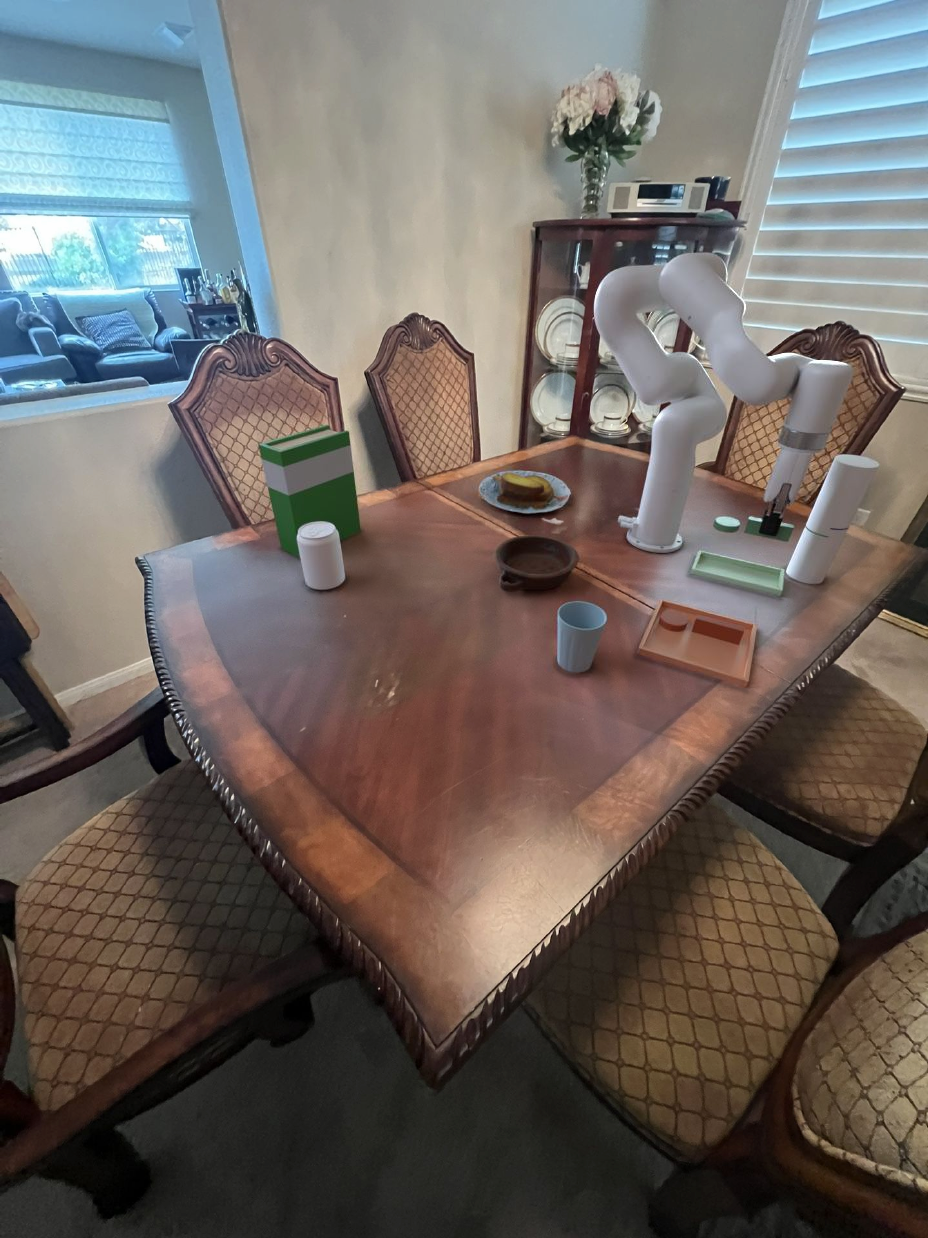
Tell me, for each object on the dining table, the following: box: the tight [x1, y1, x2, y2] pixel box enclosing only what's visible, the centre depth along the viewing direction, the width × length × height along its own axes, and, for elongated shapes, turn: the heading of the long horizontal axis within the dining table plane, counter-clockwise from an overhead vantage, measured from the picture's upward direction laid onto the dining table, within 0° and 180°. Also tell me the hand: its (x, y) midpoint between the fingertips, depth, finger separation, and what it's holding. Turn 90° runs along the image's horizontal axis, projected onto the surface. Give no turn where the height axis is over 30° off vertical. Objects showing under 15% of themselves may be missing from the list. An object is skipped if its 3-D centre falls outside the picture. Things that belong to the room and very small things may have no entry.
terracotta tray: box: [636, 597, 758, 688], centre depth 94 cm, size 17×17×2 cm
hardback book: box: [257, 424, 362, 560], centre depth 118 cm, size 18×7×24 cm, turn 141°
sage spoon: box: [712, 516, 795, 543], centre depth 105 cm, size 14×5×3 cm, turn 61°
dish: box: [494, 534, 580, 592], centre depth 111 cm, size 18×22×5 cm
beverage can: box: [297, 521, 346, 591], centre depth 106 cm, size 8×8×12 cm
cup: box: [556, 600, 608, 674], centre depth 86 cm, size 8×8×10 cm
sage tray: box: [689, 549, 786, 597], centre depth 112 cm, size 17×9×2 cm, turn 62°
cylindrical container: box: [785, 453, 880, 585], centre depth 106 cm, size 7×7×25 cm
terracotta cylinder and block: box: [659, 610, 745, 645], centre depth 95 cm, size 14×5×3 cm, turn 61°
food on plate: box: [477, 469, 572, 514], centre depth 143 cm, size 25×25×7 cm
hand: (767, 531), depth 105 cm, fingers closed on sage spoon, 1 cm apart
